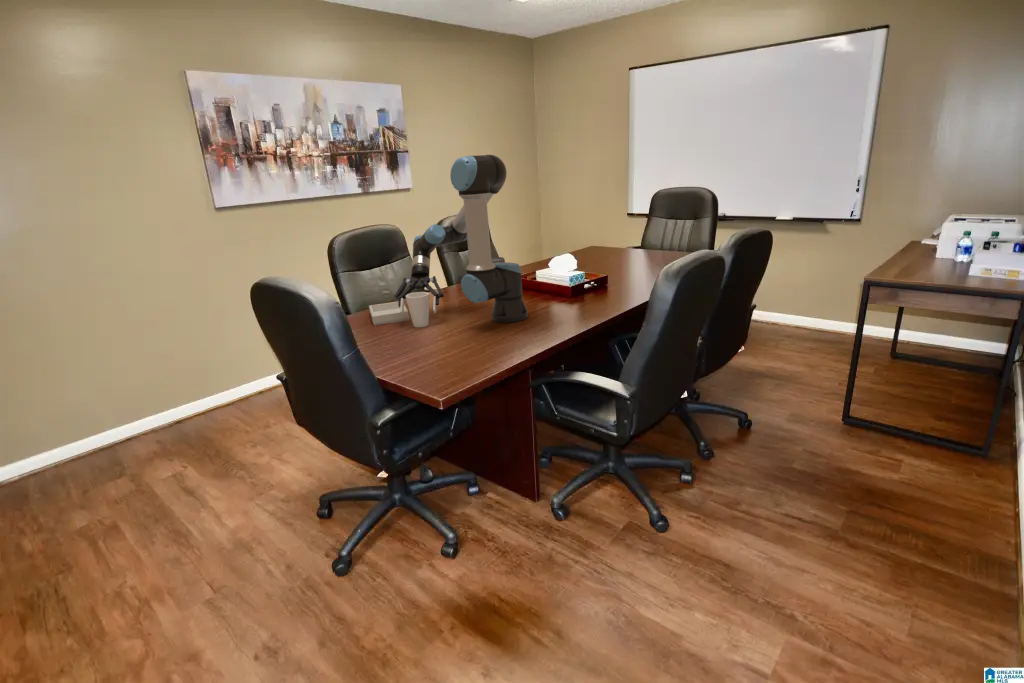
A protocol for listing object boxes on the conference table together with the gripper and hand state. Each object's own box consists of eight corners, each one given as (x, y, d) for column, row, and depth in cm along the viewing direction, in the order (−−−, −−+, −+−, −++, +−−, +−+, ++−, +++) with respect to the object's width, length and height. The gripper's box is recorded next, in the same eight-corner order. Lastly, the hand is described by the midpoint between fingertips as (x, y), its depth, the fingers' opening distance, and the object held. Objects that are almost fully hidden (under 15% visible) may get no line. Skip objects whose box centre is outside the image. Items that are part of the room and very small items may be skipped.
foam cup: (427, 328, 214) (423, 297, 210) (406, 328, 216) (402, 297, 212) (435, 321, 223) (431, 291, 218) (414, 321, 225) (411, 292, 220)
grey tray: (409, 320, 227) (408, 311, 226) (373, 325, 223) (372, 316, 222) (403, 309, 245) (402, 300, 244) (370, 314, 241) (368, 305, 240)
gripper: (451, 272, 228) (450, 315, 218) (394, 275, 229) (390, 318, 220) (448, 262, 221) (446, 306, 212) (389, 265, 222) (385, 309, 213)
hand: (418, 312), depth 216 cm, fingers open, 13 cm apart
